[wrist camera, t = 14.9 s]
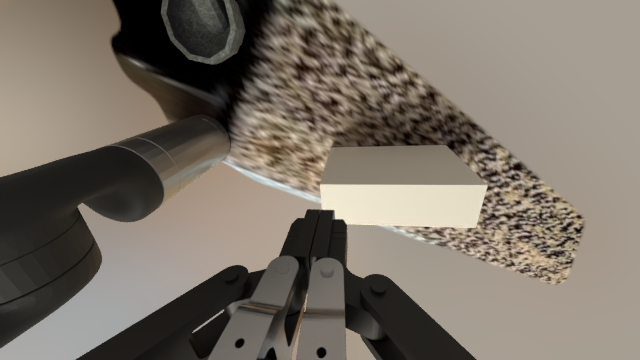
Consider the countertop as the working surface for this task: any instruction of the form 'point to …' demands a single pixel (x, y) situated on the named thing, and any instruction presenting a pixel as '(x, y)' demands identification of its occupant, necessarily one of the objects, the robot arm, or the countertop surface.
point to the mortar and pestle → (204, 28)
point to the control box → (401, 186)
